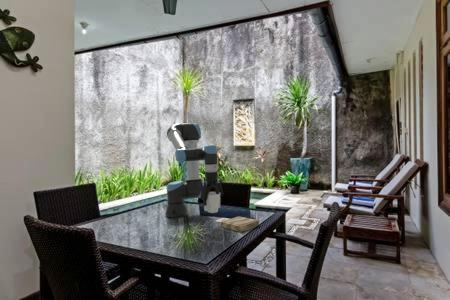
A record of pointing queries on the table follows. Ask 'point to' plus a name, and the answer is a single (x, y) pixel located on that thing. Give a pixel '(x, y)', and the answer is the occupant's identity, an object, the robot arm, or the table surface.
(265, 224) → the table surface
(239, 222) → the plinth block
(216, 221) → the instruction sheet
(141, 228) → the table surface
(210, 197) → the cup
